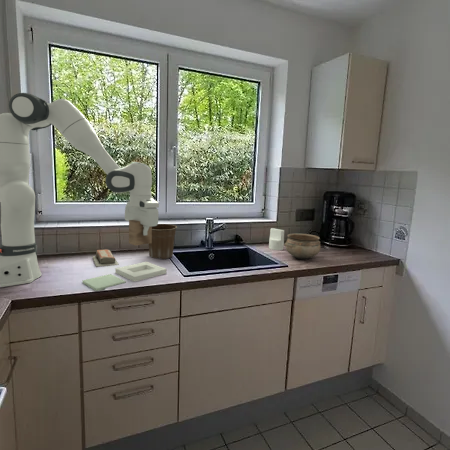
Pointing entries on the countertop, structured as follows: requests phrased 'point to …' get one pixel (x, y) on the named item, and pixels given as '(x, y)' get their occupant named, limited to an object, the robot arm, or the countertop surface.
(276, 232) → the base with upright slab
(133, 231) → the walnut block
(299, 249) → the cooking pot
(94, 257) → the packaged product
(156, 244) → the plant pot
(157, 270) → the pocket plate
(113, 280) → the green pad
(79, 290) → the countertop surface
